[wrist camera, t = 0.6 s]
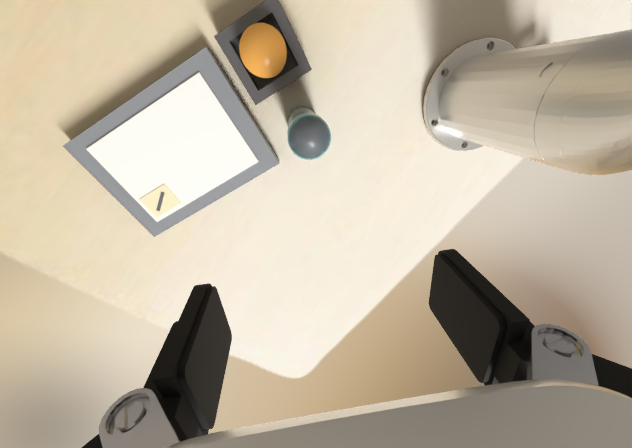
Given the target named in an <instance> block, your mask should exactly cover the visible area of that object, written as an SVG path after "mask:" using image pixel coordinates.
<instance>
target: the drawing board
mask: <svg viewBox="0 0 632 448" xmlns="http://www.w3.org/2000/svg"><path fill="white" fill-rule="evenodd" d="M63 147H64V148H65V149H66V150H67V151H68V152H69V153H70V154H71V155H72V156H73V157H74V158H75V159H76V160H77V161H78V162H79V163H80V164H81V165H82V166H83V167H84V168H85V169H86V170H87V171H88V172H89V173H90V174H91V175H92V176H93V177H94V178H95V179H96V180H97V181H98V182H99V183H100V184H101V185H102V186H103V187H104V188H105V189H106V190H107V191H108V192H109V193H110V194H111V195H113V196H114V197H115V198H116V199H117V200H118V201H119V202H120V203H121V204H122V205H123V206H124V207H125V208H126V209H127V210H128V211H129V212H130V213H131V214H132V215H133V216H134V217H135V218H136V219H137V220H138V221H139V222H140V223H141V224H142V225H143V226H144V227H145V228H146V229H147V230H148V231H149V232H150V233H151V234H152V235H153V236H154V237H155V236H157V235H158V234H160V233H162V232H163V231H165V230H167V229H169V228H170V227H172V226H174V225H175V224H177V223H179V222H180V221H182V220H184V219H186V218H187V217H189V216H191V215H192V214H194V213H196V212H198V211H199V210H201V209H203V208H204V207H206V206H208V205H209V204H211V203H213V202H215V201H216V200H218V199H220V198H221V197H223V196H225V195H226V194H228V193H230V192H232V191H233V190H235V189H237V188H238V187H240V186H242V185H243V184H245V183H247V182H249V181H250V180H252V179H254V178H255V177H257V176H259V175H261V174H262V173H264V172H266V171H267V170H269V169H271V168H272V167H274V166H276V165H278V164H279V159H278V158H277V156H276V154H275V153H274V151H273V150H272V148H271V146H270V145H269V143H268V142H267V140H266V138H265V137H264V135H263V134H262V132H261V130H260V129H259V127H258V126H257V124H256V123H255V121H254V119H253V118H252V116H251V115H250V113H249V111H248V110H247V108H246V107H245V105H244V103H243V102H242V100H241V99H240V97H239V95H238V94H237V92H236V91H235V89H234V87H233V86H232V84H231V83H230V81H229V79H228V78H227V76H226V75H225V73H224V71H223V70H222V68H221V67H220V65H219V63H218V62H217V60H216V59H215V57H214V55H213V54H212V52H211V51H210V49H209V48H207V47H205V48H204V49H202V50H201V51H199V52H198V53H196V54H195V55H193V56H192V57H191V58H189V59H188V60H186V61H185V62H183V63H182V64H180V65H179V66H178V67H176V68H175V69H173V70H172V71H170V72H169V73H167V74H166V75H165V76H163V77H162V78H160V79H159V80H157V81H156V82H154V83H153V84H152V85H150V86H149V87H147V88H146V89H144V90H143V91H141V92H140V93H139V94H137V95H136V96H134V97H133V98H131V99H130V100H128V101H127V102H126V103H124V104H123V105H121V106H120V107H118V108H117V109H115V110H114V111H113V112H111V113H110V114H108V115H107V116H105V117H104V118H102V119H101V120H100V121H98V122H97V123H95V124H94V125H92V126H91V127H89V128H88V129H87V130H85V131H84V132H82V133H81V134H79V135H78V136H76V137H75V138H74V139H72V140H71V141H69V142H68V143H66V144H65V145H63Z"/></svg>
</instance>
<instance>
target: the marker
mask: <svg viewBox="0 0 632 448" xmlns="http://www.w3.org/2000/svg"><path fill="white" fill-rule="evenodd" d="M330 141H331V133H330V129H329V127H328V125H327V124H326V122H325V121H324V120H323V119H321V118H320V117H319V116H318V115H316V114H315V113H314V112H313V111H312V110H311V109H309V108H307V107H298V108H296V109H294V110H293V111H292V112H291V114H290V115H289V118H288V143H289V146H290V148H291V150H292V151H293V153H294V154H295V155H297V156H298V157H300V158H302V159H306V160H312V159H316V158H319V157H320V156H322V155H323V154H324V153H325V152H326V151H327V149H328V147H329V145H330Z"/></svg>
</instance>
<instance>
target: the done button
mask: <svg viewBox="0 0 632 448" xmlns="http://www.w3.org/2000/svg"><path fill="white" fill-rule="evenodd" d="M239 51H240V56H241V59H242V62H243V64H244V65H245V67H246V68H247V69H248V70H249V71H250V72H251V73H252V74H254V75H256V76H258V77H261V78H272V77H275V76H277V75H278V74H279V73H280V72H281V71H282V70H283V68H284V66H285V63H286V58H287V50H286V44H285V41H284V39H283V37H282V35H281V34H280V32H279V31H278V30H277V29H276V28H274V27H273V26H271V25H269V24H266V23H255V24H252V25H251V26H249V27H248V28H247V29H246V30H245V31H244V32H243V34H242V36H241V39H240V44H239Z"/></svg>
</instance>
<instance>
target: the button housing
mask: <svg viewBox="0 0 632 448" xmlns="http://www.w3.org/2000/svg"><path fill="white" fill-rule="evenodd" d="M255 23H266V24H269V25H271V26H273V27H274V28H276V29H277V30H278V31H279V32H280V34H281V35H282V37H283V39H284V41H285V44H286V50H287V58H286V63H285V66H284V68H283V70H282V71H281V72H280V73H279V74H278V75H277V76H275V77H272V78H261V77H258V76H256V75H254V74H252V73H251V72H250V71H249V70H248V69H247V68H246V67H245V65H244V64H243V62H242V59H241V56H240V51H239V44H240V39H241V36H242V34H243V32H244V31H245V30H246V29H247V28H248V27H249V26H251V25H252V24H255ZM214 37H215V39H216V40H217V42H218V44H219V45H220V47H221V49H222V50H223V52H224V54H225V55H226V57H227V58H228V60H229V62H230V63H231V65H232V67H233V68H234V70H235V72H236V73H237V75H238V77H239V78H240V80H241V82H242V83H243V85H244V86H245V88H246V90H247V91H248V93H249V95H250V96H251V98H252V100H253V101H254V103H255V105H256V104H258V103H260V102H261V101H263V100H264V99H266V98H268V97H269V96H271V95H272V94H274V93H275V92H277V91H279V90H280V89H282V88H283V87H285V86H287V85H288V84H290V83H291V82H293V81H294V80H296V79H298V78H299V77H301V76H302V75H304V74H305V73H307V72H309V71H310V70H312V69H311V67H310V65H309V63H308V61H307V59H306V57H305V54H304V52H303V50H302V48H301V46H300V44H299V42H298V40H297V38H296V36H295V34H294V32H293V30H292V27H291V25H290V23H289V21H288V19H287V17H286V15H285V13H284V11H283V9H282V7H281V5H280V3H279V1H278V0H266V1H264V2H263V3H261V4H260V5H258V6H257V7H256V8H254V9H253V10H251V11H250V12H248V13H247V14H246V15H244V16H243V17H241V18H240V19H238V20H237V21H235V22H234V23H233V24H231V25H230V26H228V27H227V28H225V29H224V30H223V31H221V32H220V33H218V34H217V35H215V36H214Z"/></svg>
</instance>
